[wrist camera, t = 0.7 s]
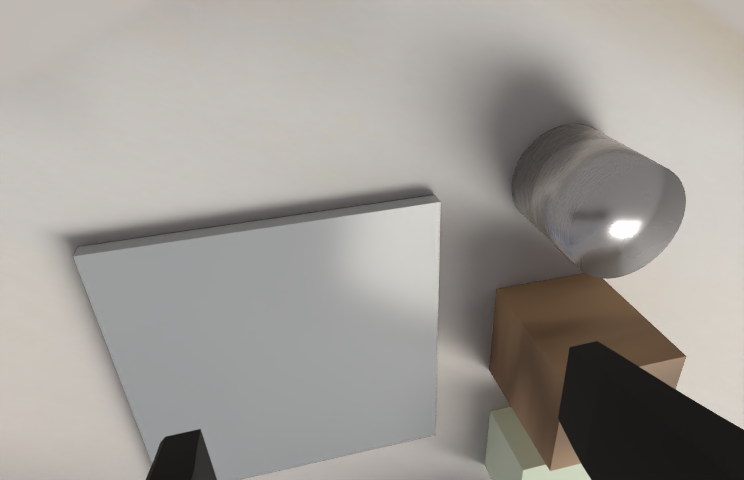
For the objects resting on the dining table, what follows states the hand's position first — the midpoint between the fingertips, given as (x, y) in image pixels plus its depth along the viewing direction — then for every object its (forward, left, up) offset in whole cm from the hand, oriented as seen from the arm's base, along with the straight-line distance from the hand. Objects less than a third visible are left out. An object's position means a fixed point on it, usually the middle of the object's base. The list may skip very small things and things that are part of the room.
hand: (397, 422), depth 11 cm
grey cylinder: (0, -9, -10) cm, 13 cm away
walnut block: (-7, -9, -10) cm, 15 cm away
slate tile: (-6, +2, -10) cm, 12 cm away
